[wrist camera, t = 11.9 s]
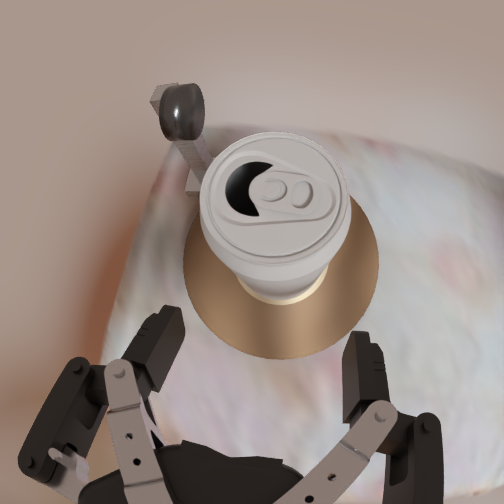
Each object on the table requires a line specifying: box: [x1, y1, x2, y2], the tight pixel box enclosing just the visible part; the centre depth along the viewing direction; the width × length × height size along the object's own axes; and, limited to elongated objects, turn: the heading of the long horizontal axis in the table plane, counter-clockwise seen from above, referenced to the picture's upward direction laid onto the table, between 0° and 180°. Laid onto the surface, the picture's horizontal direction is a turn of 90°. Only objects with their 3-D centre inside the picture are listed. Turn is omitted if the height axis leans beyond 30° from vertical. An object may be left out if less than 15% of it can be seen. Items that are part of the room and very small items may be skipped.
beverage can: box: [200, 132, 351, 300], centre depth 16 cm, size 6×6×12 cm
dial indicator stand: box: [150, 83, 216, 196], centre depth 21 cm, size 4×5×13 cm
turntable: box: [183, 195, 379, 360], centre depth 22 cm, size 16×16×1 cm
